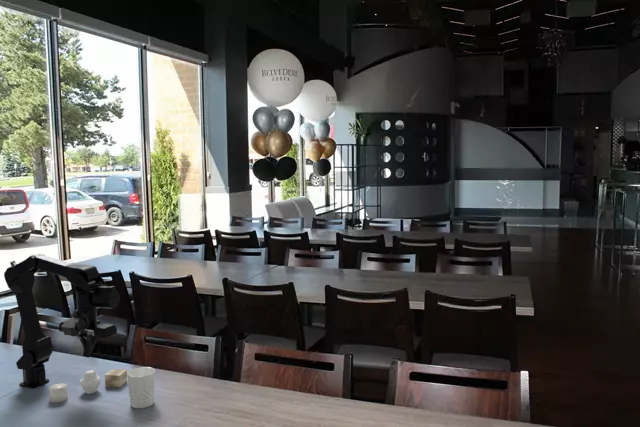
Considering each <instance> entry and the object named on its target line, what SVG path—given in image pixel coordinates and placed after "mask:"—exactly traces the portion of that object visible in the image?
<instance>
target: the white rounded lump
mask: <svg viewBox="0 0 640 427" xmlns="http://www.w3.org/2000/svg"><path fill="white" fill-rule="evenodd" d="M48 388H49V389H48V390H49V391H48V392H49V393H48V394H49V395H48V396H49V402H50V403H54V404H55V403H57V404H58V403H63V402H64V401H66V400H67V399H68V398H69V397H68V385H67V384H66V383H62V382H61V383H56V384H52V385H51V386H49V387H48Z"/></svg>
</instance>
